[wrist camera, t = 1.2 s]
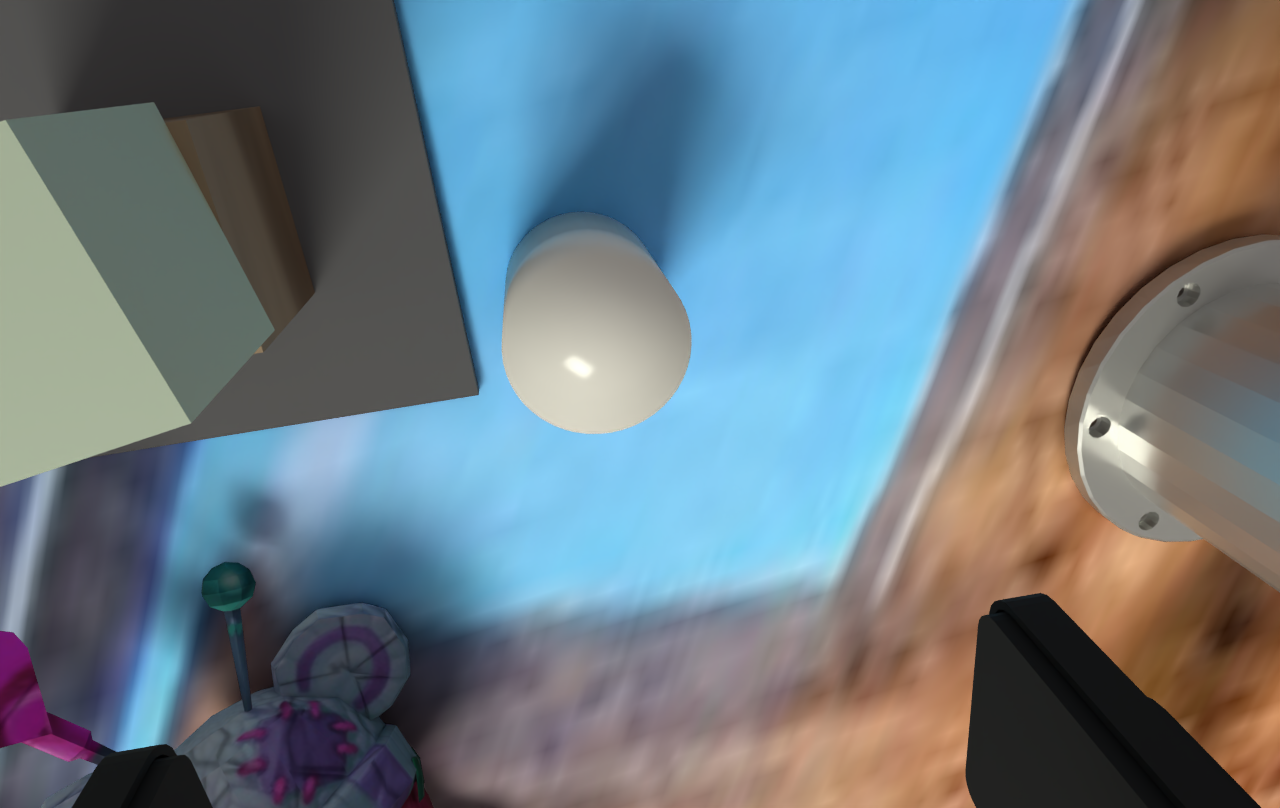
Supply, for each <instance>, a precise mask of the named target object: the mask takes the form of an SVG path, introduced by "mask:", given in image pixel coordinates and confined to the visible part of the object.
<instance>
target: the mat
mask: <svg viewBox="0 0 1280 808" xmlns="http://www.w3.org/2000/svg"><path fill="white" fill-rule="evenodd" d="M151 102H154V103H155V105H156V107H157V109H158V110H159V112H160V114H161V116H162V118H163V119H165V118H173V117H181V116H189V115H196V114H204V113H212V112H219V111H227V110H235V109H243V108H250V107H258V106H260V109H261V112H262V116H263V119H264V122H265V126H266V129H267V132H268V136H269V139H270V143H271V146H272V149H273V153H274V156H275V159H276V163H277V166H278V170H279V173H280V176H281V180H282V183H283V186H284V190H285V193H286V197H287V200H288V203H289V207H290V210H291V214H292V217H293V220H294V224H295V227H296V230H297V234H298V237H299V241H300V244H301V247H302V251H303V254H304V257H305V261H306V264H307V268H308V271H309V274H310V278H311V281H312V285H313V288H314V291H315V294H314V295H313V296H312V297H311V298H310V299H309V301H308V302H307V303H306V304H305V305H304V306H303V307H302V309H301V310H300V311H299V312H298V313H297V314H296V316H295V317H294V318H293V319H292V320H291V321H290V322H289V324H288V325H287V326H286V327H285V328H284V329H283V330H282V332H281V333H280V334H279V335H278V336H277V337H276V339H275V340H274V341H273V342H272V343H271V344H270V345H269V347H268V348H267V349H266V350H265V351H264V352H263V353H256V354H253V355H252V356H251V357H250V358H249V359H248V361H247V362H246V363H245V364H244V365H243V366H242V367H241V368H240V370H239V371H238V372H237V373H236V374H235V375H234V376H233V377H232V378H231V380H230V381H229V382H228V383H227V384H226V385H225V386H224V387H223V388H222V390H221V391H220V392H219V393H218V394H217V395H216V396H215V397H214V398H213V400H212V401H211V402H210V403H209V404H208V405H207V406H206V407H205V408H204V410H203V411H202V412H201V413H200V414H199V415H198V416H197V417H196V419H195V420H194V421H193V422H192V423H191V424H188V425H185V426H182V427H179V428H176V429H173V430H170V431H166V432H163V433H160V434H157V435H154V436H151V437H148V438H145V439H142V440H139V441H136V442H133V443H130V444H127V445H124V446H121V447H118V448H115V449H112V450H109V451H106V452H103V453H100V454H97V455H94V456H91V457H97V456H103V455H109V454H115V453H121V452H128V451H134V450H140V449H146V448H152V447H159V446H165V445H171V444H177V443H183V442H190V441H196V440H202V439H208V438H214V437H221V436H227V435H233V434H239V433H245V432H252V431H258V430H264V429H270V428H276V427H283V426H289V425H295V424H301V423H307V422H314V421H320V420H326V419H332V418H338V417H345V416H351V415H357V414H363V413H369V412H376V411H382V410H388V409H394V408H401V407H407V406H413V405H419V404H425V403H432V402H438V401H444V400H450V399H456V398H463V397H469V396H475V395H479V388H478V383H477V379H476V374H475V370H474V365H473V360H472V356H471V351H470V347H469V342H468V338H467V333H466V328H465V324H464V319H463V315H462V310H461V306H460V301H459V296H458V292H457V287H456V283H455V278H454V274H453V269H452V264H451V260H450V255H449V251H448V246H447V242H446V237H445V232H444V228H443V223H442V219H441V214H440V210H439V205H438V200H437V196H436V191H435V187H434V182H433V178H432V173H431V168H430V164H429V159H428V155H427V150H426V146H425V141H424V136H423V132H422V127H421V123H420V118H419V114H418V109H417V104H416V100H415V95H414V91H413V86H412V82H411V77H410V72H409V68H408V63H407V59H406V54H405V50H404V45H403V40H402V36H401V31H400V27H399V22H398V18H397V13H396V8H395V4H394V0H0V122H1V121H4V120H9V119H17V118H26V117H34V116H42V115H51V114H59V113H67V112H76V111H84V110H92V109H101V108H109V107H117V106H126V105H134V104H142V103H151ZM88 458H90V457H88Z"/></svg>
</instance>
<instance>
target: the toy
mask: <svg viewBox="0 0 1280 808" xmlns="http://www.w3.org/2000/svg"><path fill="white" fill-rule="evenodd" d="M255 584H256V582H255V580H254V578H253V576H252V574H251V571H250V570H249V569H248V568H246V567H245V566H243V565H241V564H240V563H232V562H224V563H222V564H220V565H218V566H216V567H214V568H212V569H211V570H210V571H209V573H208V574H207V575H206V576H205V577H204V579H203V583H202V596H203V597H204V599H205V600H206V602H207V603H208V605H209V606H210V607H212V608H215V609H218V610H221V611H224V615H225V619H226V624H227V629H228V634H229V639H230V644H231V648H232V653H233V658H234V663H235V668H236V673H237V678H238V682H239V687H240V692H241V697H242V700H240V701H238V702H237V703H235V704H233V705H231V706H229V707H228V708H226V709H224V710H222V711H220V712H218V713H217V714H215V715H213V716H211V717H210V718H209V719H208V720H207V721H206V722H205V723H204V724H203V725H202V726H200V727H199V728H198V729H197V730H196V731H195V732H194V733H193V734H192V735H191V736H190V737H188V738H187V739H186V740H185V741H184V742H183V743H182V744H181V745H180V746H179V747H178V748H177V749H175V750H174V751H175V753H176V754H177V755H186V756H187V757H189V759H190V760H191V762H192V764H193V766H194V768H195V770H196V772H197V774H198V777H199V779H200V781H201V783H202V785H203V787H204V789H205V792H206V794H207V796H208V798H209V800H210V802H211V805H212V807H213V808H434V807H433V805H432V802H431V800H430V798H429V795H428V794H427V792H426V791H425V789H424V778H423V772H422V767H421V762H420V757H419V756H418V754H417V753H416V752H415V750H414V749H413V748H412V747H410V745H409V744H408V742H407V741H406V739H405V738H404V736H403V735H402V733H401V732H400V730H399V729H398V727H397V726H396V725H391V724H385V723H384V722H383V721H382V720H381V719H380V718H379V716H380V715H381V714H382V713H384V712H385V711H386V710H387V709H389V708H390V707H391V706H392V705H393V703H394V702H395V700H396V698H397V697H398V695H399V693H400V692H401V690H402V688H403V687H404V685H405V683H406V681H407V680H408V678H409V676H410V661H409V647H408V639H407V637H406V636H405V635H404V633H403V632H402V631H401V629H400V628H399V626H398V625H397V624H396V622H395V621H394V620H393V618H392V617H391V615H390V614H389V613H388V611H387V610H386V609H385V608H381V607H377V606H373V605H369V604H366V603H355V604H348V605H342V606H335V607H328V608H321V609H317V610H316V611H314V612H313V613H312V614H311V615H310V616H309V617H307V618H306V619H305V620H304V621H303V622H302V623H300V624H299V625H298V626H297V627H296V628H295V629H293V630H292V632H291V633H290V635H289V636H288V638H287V639H286V641H285V643H284V644H283V646H282V647H281V649H280V650H279V652H278V653H277V655H276V656H275V658H274V660H273V661H272V663H271V668H272V676H273V683H274V687H271V688H267V689H263V690H260V691H257V692H255V693H253V694H250V685H249V677H248V669H247V660H246V652H245V644H244V635H243V627H242V619H241V610H240V608H241V607H242V606H243V605H244V604H245V603H246V602H247V601H248V600H249V599H250V598H251V597H253V593H254V589H255ZM20 742H22V743H24V744H27V745H29V746H32V747H34V748H36V749H39V750H41V751H44V752H46V753H49V754H51V755H53V756H56V757H58V758H61V759H63V760H66V761H68V762H70V761H73V760H76V759H78V758H81V759H84V760H86V761H89V762H92V763H95V764H99V763H100V762H101V760H102V759H103V758H104V757H106V756H107V755H109V754H111V753H115V751H113V750H111V749H109V748H107V747H105V746H103V745H101V744H99V743H97V742H95V741H93V740H92V736H91V731H89V730H87V729H84V728H82V727H80V726H78V725H75V724H73V723H71V722H68V721H66V720H64V719H62V718H59V717H57V716H55V715H52V714H50V713H48V712H46V709H45V706H44V702H43V699H42V696H41V692H40V689H39V686H38V682H37V679H36V675H35V672H34V669H33V665H32V662H31V659H30V655H29V652H28V648H27V647H26V646H25V645H24V644H23V643H22V641H21V640H20V639H19V638H18V637H17V636H16V635H15V634H14V633H13V632H5V631H0V748H2V747H6V746H9V745H13V744H16V743H20ZM91 775H92V773H90V774H88V775H86V776H84V777H83V778H81V779H79V780H77V781H76V782H74V783H72V784H71V785H69V786H67V787H65V788H64V789H62V790H60V791H58V792H57V793H55V794H53V795H51V796H50V797H48V798H47V799H46V800H45V802H44V803H43V805H42V806H41V808H72V806H73V804H74V803H75V801H76V799H77V798H78V796H79V795H80V793H81V791H82V790H83V788H84V786H85V785H86V783H87V782H88V780H89V778H90V777H91Z"/></svg>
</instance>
